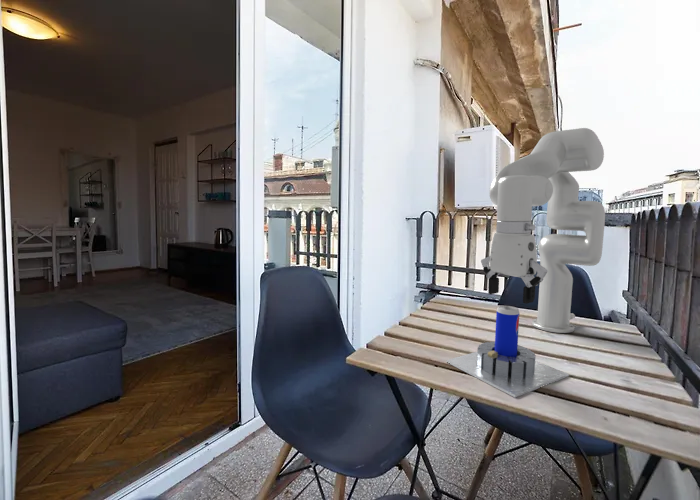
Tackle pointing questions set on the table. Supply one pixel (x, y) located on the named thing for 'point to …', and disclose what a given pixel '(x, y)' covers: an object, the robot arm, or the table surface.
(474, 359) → the hub
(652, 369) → the table surface
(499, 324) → the beverage can
